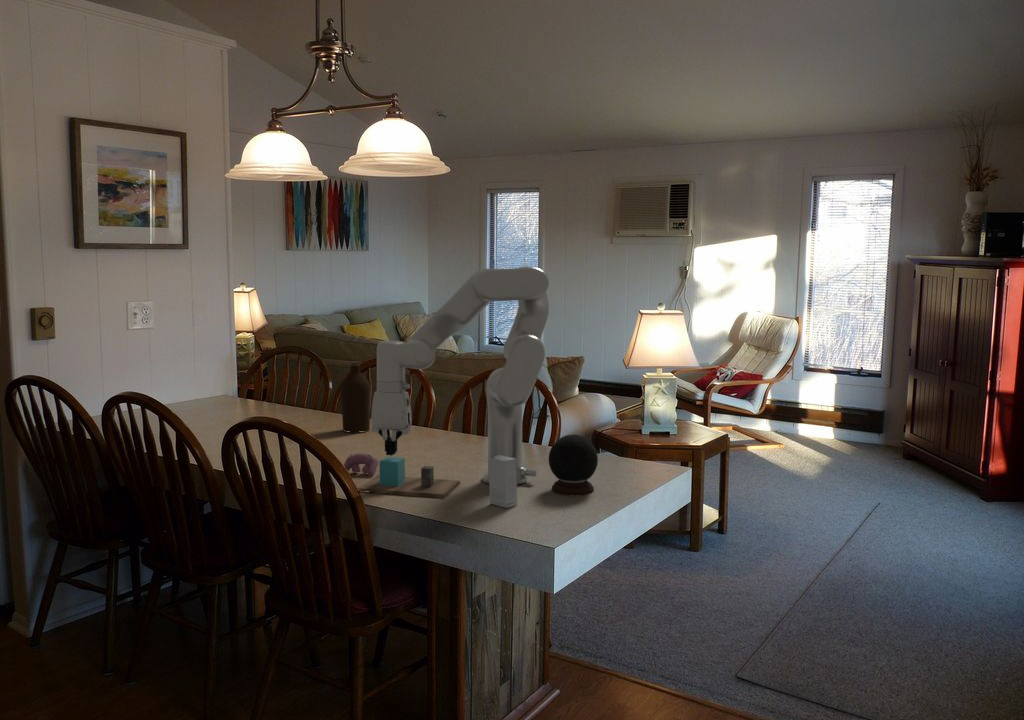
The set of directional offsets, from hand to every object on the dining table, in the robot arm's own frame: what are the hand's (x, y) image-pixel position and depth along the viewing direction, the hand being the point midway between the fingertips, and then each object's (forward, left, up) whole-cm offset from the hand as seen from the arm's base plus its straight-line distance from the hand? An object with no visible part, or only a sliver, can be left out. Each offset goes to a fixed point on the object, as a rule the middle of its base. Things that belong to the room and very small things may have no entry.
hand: (391, 454), depth 227 cm
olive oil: (+40, -68, -9) cm, 79 cm away
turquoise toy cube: (0, 0, -8) cm, 8 cm away
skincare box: (-33, +9, -9) cm, 36 cm away
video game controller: (+14, -11, -9) cm, 20 cm away
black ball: (-48, -9, -9) cm, 50 cm away
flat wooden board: (-5, 0, -9) cm, 10 cm away
